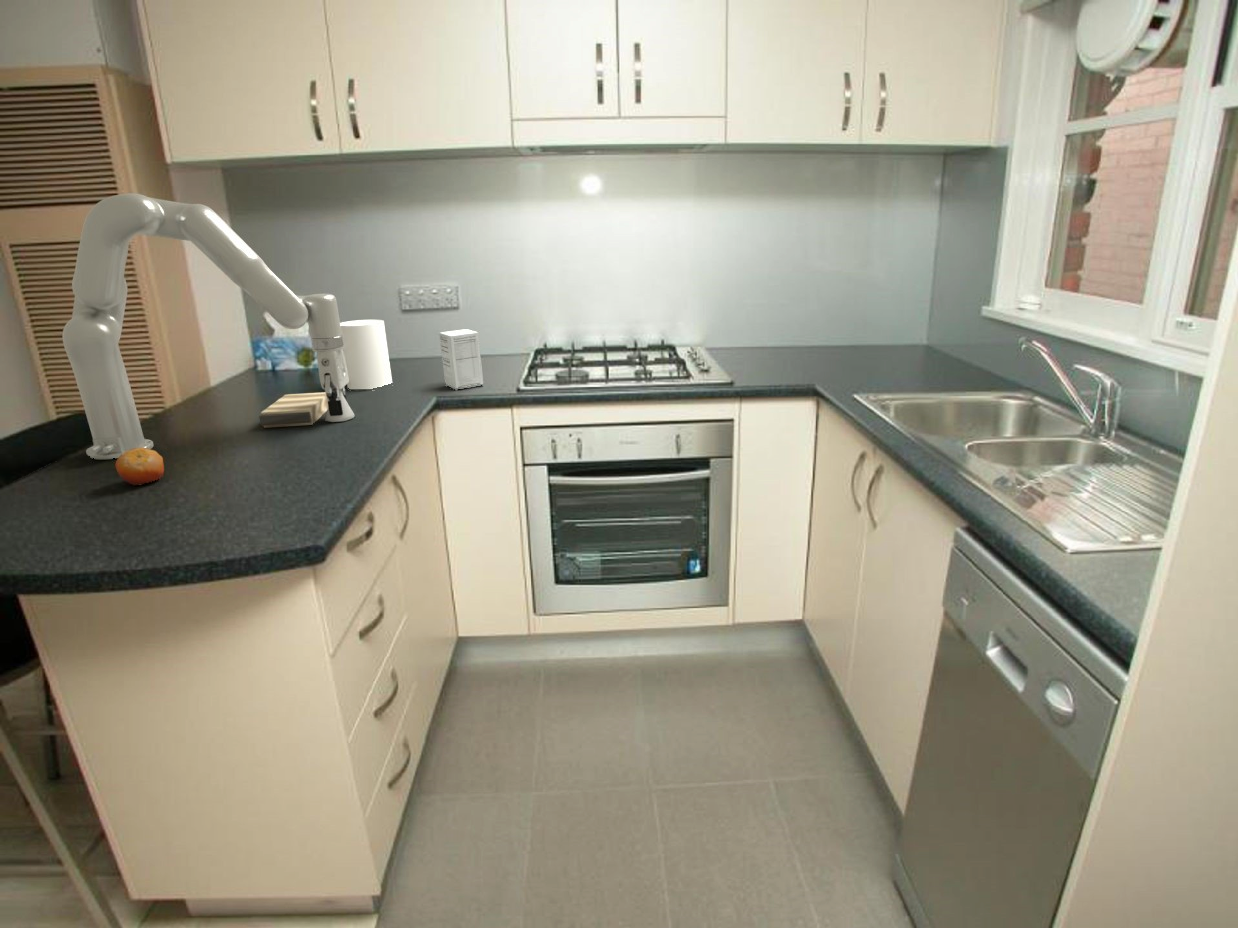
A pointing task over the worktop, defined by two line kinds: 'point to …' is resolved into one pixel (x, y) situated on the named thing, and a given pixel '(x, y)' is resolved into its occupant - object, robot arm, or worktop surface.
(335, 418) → the flask
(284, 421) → the zigzag patterned box
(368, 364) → the canister
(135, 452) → the fruit
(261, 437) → the worktop surface
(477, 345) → the supplement box
